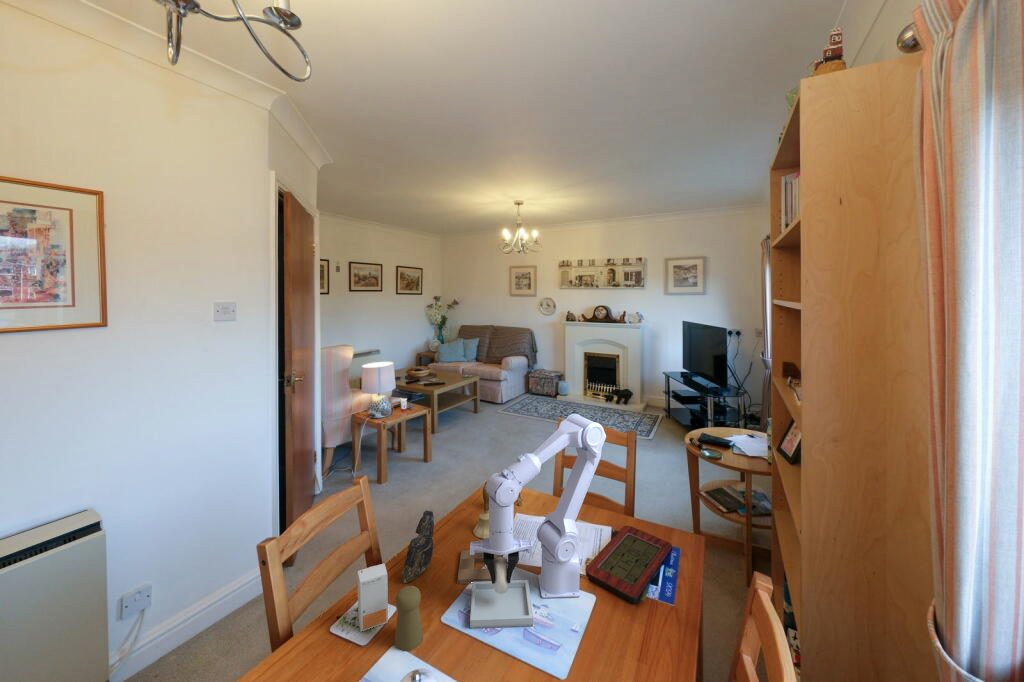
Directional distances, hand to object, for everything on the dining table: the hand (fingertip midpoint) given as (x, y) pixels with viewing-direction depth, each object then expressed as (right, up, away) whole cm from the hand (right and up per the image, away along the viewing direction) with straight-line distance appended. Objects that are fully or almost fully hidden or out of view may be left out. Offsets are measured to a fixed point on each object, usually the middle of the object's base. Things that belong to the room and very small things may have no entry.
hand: (501, 580), depth 92 cm
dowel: (0, -2, 0) cm, 2 cm away
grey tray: (0, -7, +1) cm, 7 cm away
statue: (-23, -6, +13) cm, 27 cm away
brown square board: (-6, -5, +14) cm, 16 cm away
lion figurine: (0, -3, +45) cm, 45 cm away
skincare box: (-29, -7, -4) cm, 30 cm away
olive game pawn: (-20, -8, -8) cm, 23 cm away
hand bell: (-6, -4, +31) cm, 32 cm away
